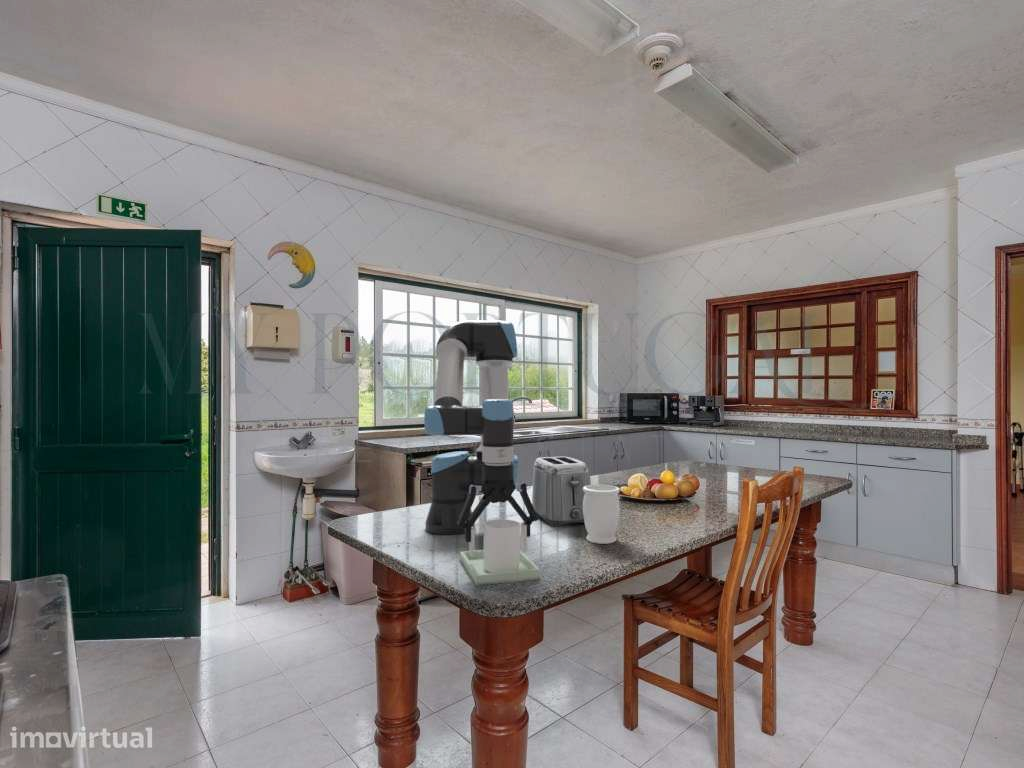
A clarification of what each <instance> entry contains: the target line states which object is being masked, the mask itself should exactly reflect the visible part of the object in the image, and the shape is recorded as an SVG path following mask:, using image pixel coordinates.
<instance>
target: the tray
mask: <svg viewBox="0 0 1024 768" xmlns="http://www.w3.org/2000/svg"><path fill="white" fill-rule="evenodd" d="M483 553H484V549H478V550H477V549H475V557H471V556H470V554H469V550H468V551H467V550H466V551H460V552H459V561H460V563H461V564H462V566H463V568H464V569H465V570H466V572H467V574H468V576H469V577H470V579H471V580H472V583H473V584H474V585H475V586H476V587H481V586H488V585H495V584H496V585H497V584H505V583H515V582H523V581H524V582H526V581H532V580H535V581H536V580H541V568H539V567H538V566H537V565H536V564H535V563H534V562H533V561H532V560H531V559H530V557H528V556H527V555H526V554H525V552H523V551H522V550H521V549H520V564H519V569H518V570H516V571H507V572H497V573H490V572H488V571H486V570H485V569H484V565H483Z"/></svg>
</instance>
